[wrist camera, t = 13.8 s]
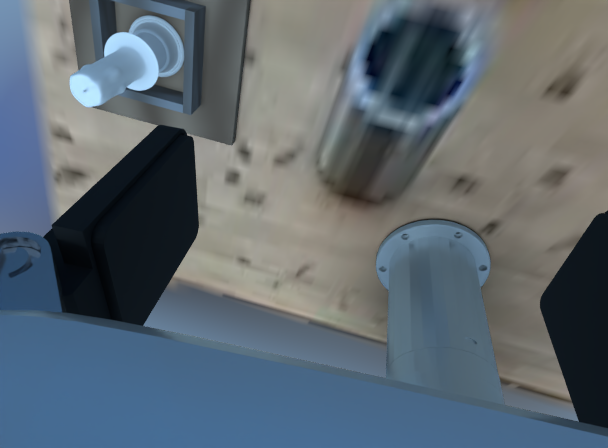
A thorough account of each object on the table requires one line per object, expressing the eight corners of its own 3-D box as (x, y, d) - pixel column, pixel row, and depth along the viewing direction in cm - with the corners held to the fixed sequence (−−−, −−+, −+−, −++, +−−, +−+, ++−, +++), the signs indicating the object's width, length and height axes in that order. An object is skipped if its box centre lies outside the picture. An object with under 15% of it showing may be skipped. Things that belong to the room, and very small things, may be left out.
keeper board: (253, -32, 34) (241, -26, 32) (234, 141, 44) (224, 157, 42) (65, -82, 35) (37, -81, 32) (88, 101, 45) (68, 114, 42)
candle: (157, 2, 36) (73, 38, 27) (196, 58, 39) (132, 109, 29) (117, 35, 39) (27, 79, 29) (157, 86, 41) (85, 141, 32)
